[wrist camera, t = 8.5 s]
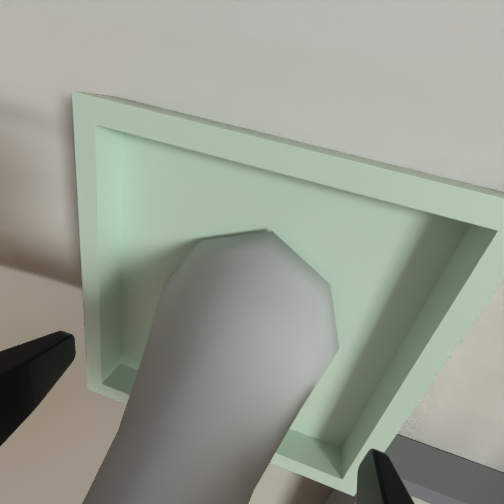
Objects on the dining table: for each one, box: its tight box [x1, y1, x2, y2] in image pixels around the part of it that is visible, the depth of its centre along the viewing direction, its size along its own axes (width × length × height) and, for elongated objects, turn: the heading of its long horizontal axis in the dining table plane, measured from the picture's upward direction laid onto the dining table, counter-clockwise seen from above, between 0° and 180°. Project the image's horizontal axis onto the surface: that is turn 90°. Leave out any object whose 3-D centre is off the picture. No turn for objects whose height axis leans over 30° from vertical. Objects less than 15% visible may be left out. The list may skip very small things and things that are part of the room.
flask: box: [83, 231, 339, 504], centre depth 8 cm, size 7×7×10 cm
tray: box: [72, 91, 504, 496], centre depth 12 cm, size 14×14×2 cm
